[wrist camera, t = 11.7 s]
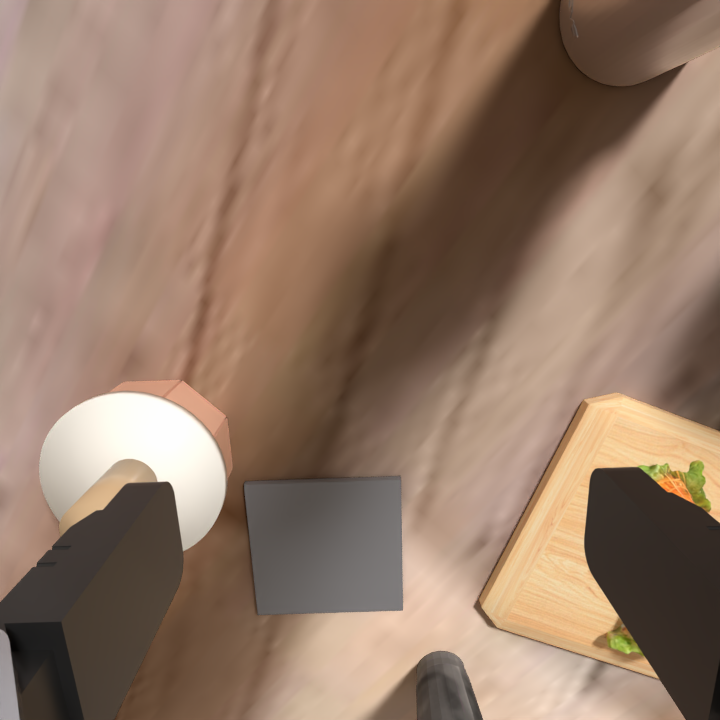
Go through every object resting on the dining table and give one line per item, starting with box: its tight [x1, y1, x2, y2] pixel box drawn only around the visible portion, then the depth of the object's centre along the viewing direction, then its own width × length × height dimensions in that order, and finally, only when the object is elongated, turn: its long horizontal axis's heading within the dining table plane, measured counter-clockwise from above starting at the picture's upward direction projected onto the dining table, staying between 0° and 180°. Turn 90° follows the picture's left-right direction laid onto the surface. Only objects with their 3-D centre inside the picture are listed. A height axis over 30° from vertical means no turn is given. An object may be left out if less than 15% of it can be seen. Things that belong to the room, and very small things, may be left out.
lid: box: [39, 391, 228, 551], centre depth 34 cm, size 13×13×7 cm
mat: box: [244, 476, 403, 615], centre depth 45 cm, size 13×13×1 cm
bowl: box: [110, 380, 233, 479], centre depth 40 cm, size 11×11×5 cm
